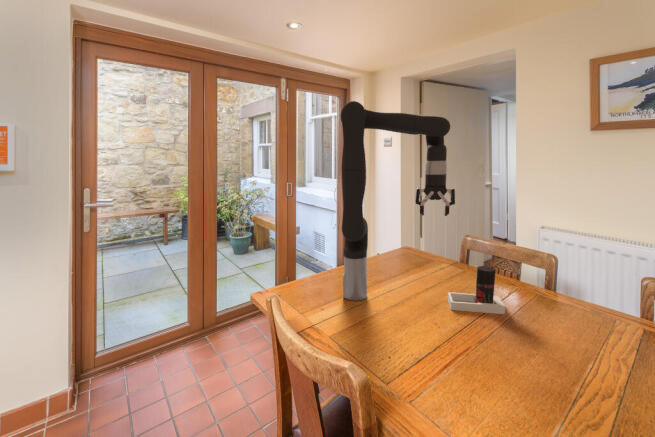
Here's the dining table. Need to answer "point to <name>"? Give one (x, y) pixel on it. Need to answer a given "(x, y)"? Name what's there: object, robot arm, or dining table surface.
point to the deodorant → (485, 284)
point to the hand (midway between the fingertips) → (434, 215)
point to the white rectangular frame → (474, 304)
